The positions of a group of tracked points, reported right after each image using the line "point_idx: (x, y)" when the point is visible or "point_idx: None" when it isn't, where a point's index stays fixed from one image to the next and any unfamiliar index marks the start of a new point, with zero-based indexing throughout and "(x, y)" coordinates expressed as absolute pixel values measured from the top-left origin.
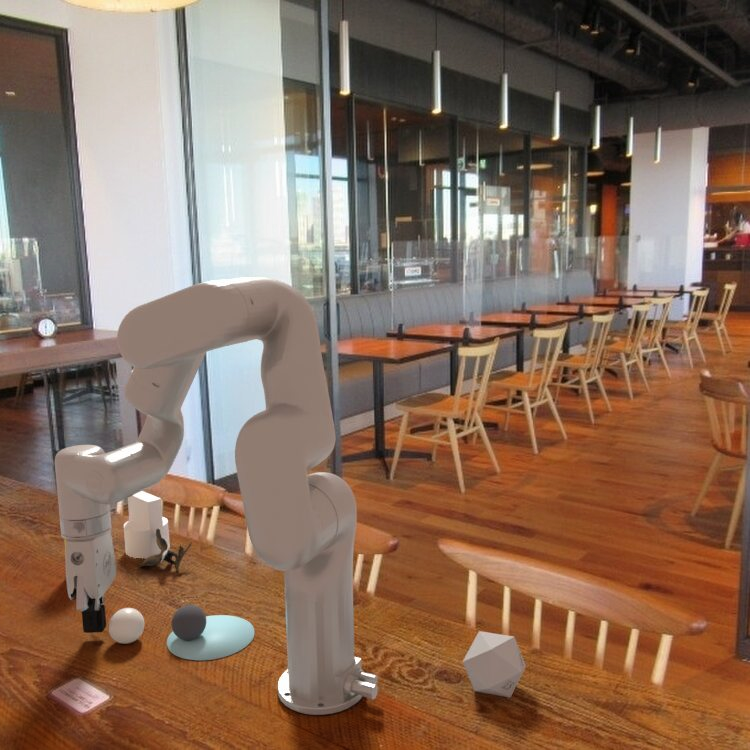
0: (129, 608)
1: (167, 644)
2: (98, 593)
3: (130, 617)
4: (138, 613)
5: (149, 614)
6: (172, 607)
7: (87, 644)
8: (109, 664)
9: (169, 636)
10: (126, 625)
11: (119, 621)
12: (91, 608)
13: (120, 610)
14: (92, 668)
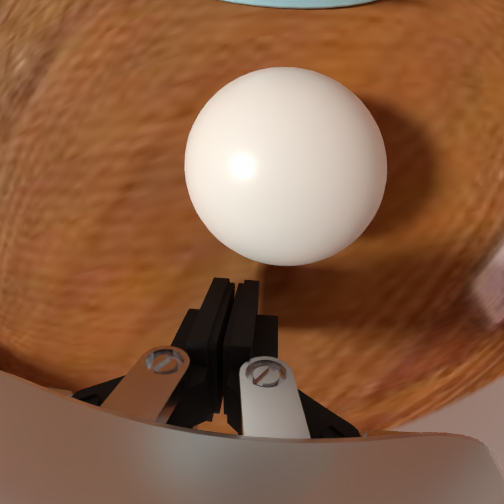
0: (262, 146)
1: (335, 4)
2: (501, 468)
3: (358, 124)
4: (285, 80)
5: (75, 138)
6: (46, 77)
7: (281, 313)
8: (437, 203)
9: (271, 2)
10: (383, 149)
11: (378, 197)
12: (316, 408)
13: (283, 214)
14: (444, 255)
